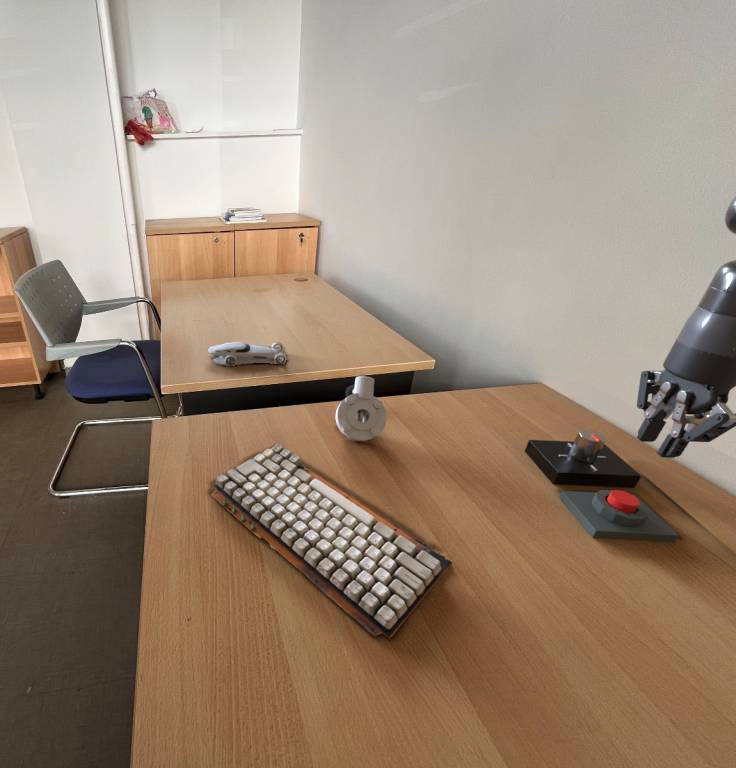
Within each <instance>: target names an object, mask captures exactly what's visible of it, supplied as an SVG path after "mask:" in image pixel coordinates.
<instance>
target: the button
mask: <svg viewBox="0 0 736 768" xmlns="http://www.w3.org/2000/svg"><path fill="white" fill-rule="evenodd" d="M612 490H613V489H612ZM607 503H608V504H609V505H610V506H612V507H613V508H615V509H617V510H619V511H622V512H625V513H634V512H635V511H636V509H637V507H638V506H639V504H640V502H639V500H638V499H637V498H636V497H635V496H633V495H631V493H629V492H627V491H624V490H620V489H619V490H618V489H614V490H613V491H611V493H610V495H609V496H608V498H607Z"/></svg>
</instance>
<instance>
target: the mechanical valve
mask: <svg viewBox="0 0 736 768" xmlns="http://www.w3.org/2000/svg"><path fill="white" fill-rule="evenodd" d="M374 387H375V378H373V377H372V376H371V377H370V376H364V375H361V376H356V377H355V379H354V384H352V385H349V386H347V388H346V390H345V398H344V399H342V401H341V402H340V403H339V405H338V406H337V408H336V411H335V423H336V426H337V427H338V430H339V431H340V433H341V434H342V435H344V436H345V437H346V438H348V439H350V440H353V441H356V442H364V441H370V440H372V439H375V438H376V437H378V436H379V435H380V434H381V433H382V432H383V431H384V429H385V427H386V425H387V421H388V415H387V410H386V408H385V406H384V403H383V402H382V400H380V399H379V398H377V397H376V396H374V392H375V388H374ZM357 414H358V415H357Z"/></svg>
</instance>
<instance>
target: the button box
mask: <svg viewBox="0 0 736 768" xmlns="http://www.w3.org/2000/svg"><path fill="white" fill-rule="evenodd" d="M611 491H613V489H601V490H599V491H597V492H591V491H572V490H571V491H570V490H561V492H560V494H559V496H558V500H560V501H561V503H562V504H563V506H565V507H566V509H567V510H568V511H569V513H570V514H571V515H572V516H573V517H574V518H575V519H576V520H577V522H578V523H579V524H580V526H582V528H583V529H584V530H585V531H586V532H587V533H588V535H589V536H590V537H591V538H592V539H607V540H622V541H639V542H653V543H654V542H655V543H656V542H657V543H670V544H671V543H672V544H673V543H675V542H676V541H677V539H678V538H679V536H680V535H679V533H677V532H676V531H675V530H674V529H673V528H672V527H671V526H670V525H669V524H668V523H666V522H665V521H664V520H663V519H662V518H661V517H660V516H659V515H658V514H657V513H656V512H655V511H654V510H652V508H651V507H649V506H648V504H646V503H645V501H643V500H642V499H641V498H640V497H639V496H637V494H635V493H634V494H633V493H632V494H631V493H630V494H631V495H633V496H635V497H636V498H637V499H638V500H639V502H640V504H639V506H638V507H637V509H636V511H635V512H634V513H625V512H622V511H619V510H617V509H615V508H613V507H612V506H610V505H609V504H608V503H607V498H608V496H609V495H610V493H611Z"/></svg>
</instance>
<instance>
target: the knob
mask: <svg viewBox="0 0 736 768" xmlns="http://www.w3.org/2000/svg"><path fill="white" fill-rule="evenodd" d="M606 442H607V437H606V436H605V435H603V434H602V433H601V432H598V431H595V430H592V429H585V428H584V429H580V430H578V433H577V435H576V436H575V439H574V443H573V445H572V447H571V449H570V451H569V454H570V455H571V456H572V457H573V458H574V459H576V460H578V461H581V462H585V463H593V462H595V461H596V459H597V457H598V455H599V453H600V451H601V449H602V447H603V445H604V444H606Z"/></svg>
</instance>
